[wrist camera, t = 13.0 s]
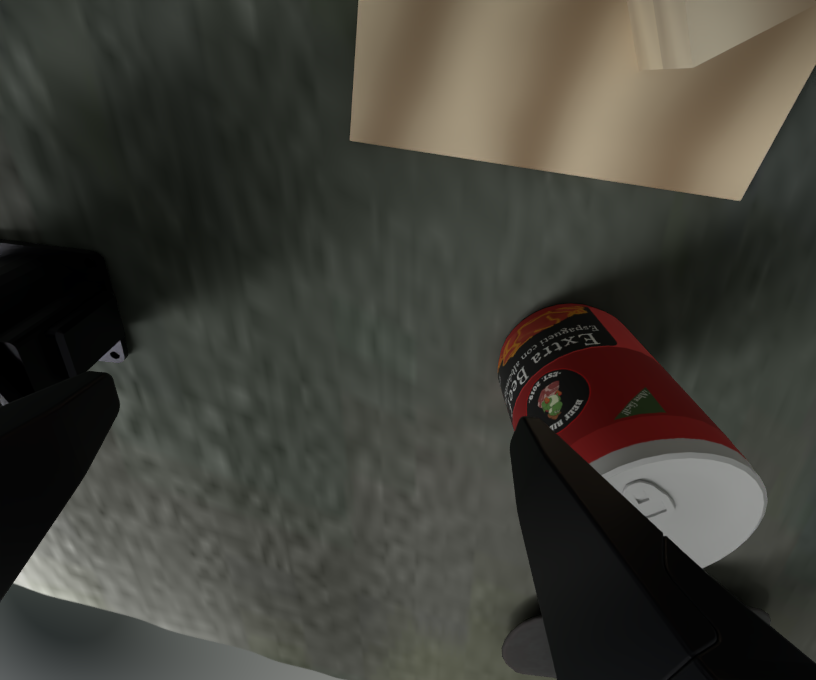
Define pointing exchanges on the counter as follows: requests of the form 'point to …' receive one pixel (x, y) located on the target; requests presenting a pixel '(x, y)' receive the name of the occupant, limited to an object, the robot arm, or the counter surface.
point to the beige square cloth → (571, 92)
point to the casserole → (544, 647)
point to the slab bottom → (645, 34)
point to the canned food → (632, 427)
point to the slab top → (715, 26)
